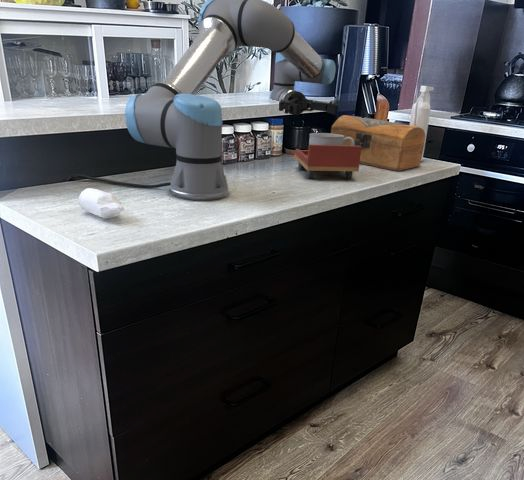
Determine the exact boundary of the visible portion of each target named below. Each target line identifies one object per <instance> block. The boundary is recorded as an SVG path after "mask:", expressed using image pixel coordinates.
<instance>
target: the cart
mask: <svg viewBox="0 0 524 480" xmlns="http://www.w3.org/2000/svg"><path fill="white" fill-rule="evenodd" d="M361 148H362V146H344V145H309V144H308V149H307V150H305V149H304V150H303V149H300V148H295V150H294V159H295V160H296V161H297V162H298V170H300V171H303V170H306V178H307V179H313V178H314V171H315V172H344V177H345V179H346V180H351V179H352V177H353V173H354V172H359V169H360V163H359V162H360V155H361Z"/></svg>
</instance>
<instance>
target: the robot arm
mask: <svg viewBox="0 0 524 480" xmlns="http://www.w3.org/2000/svg"><path fill="white" fill-rule="evenodd" d="M198 15H199V17H198V19H197V27H198V35H197V36H196V37H195V39H194V40H193V42H192V43H191V45H189V47H188V48H187V49H186V51H185V52H184V53H183V55H182V56H181V57H180V59H179V60H178V61H177V63H176V64H175V65H174V66H173V68H172V69H171V70H170V71H169V73H168V74H167V76H166V77H165V78H164V80H163V81H156V82H154V83H152V84H151V86H150V87H149V89H148V90H147V91H146V92H145V94H141V93H137V94H133V95H131V96H130V97H129V98H128V100H127V102H126V105H125V110H124V115H125V118H124V119H125V125H126V128H127V131H128V133H129V134H130V136H131V137H132V138H133V139H134V140H135V141H137V142H138V143H142V144H145V145H150V146H151V145H152V146H157V147H165V148H172V149H175V156H176V157H175V158H176V159H175V160H176V161H175V162H176V163H175V167H174V171H173V174H172V177H171V181H169V182H162V183H157V184H139V183H131V182H125V181H117V180H113V179H107V178H102V177H93V176H89V175H85V174H84V175H83V174H79V175H78V176H77V177H70V176H69V177H68V178H67V179H66V181H67V182H70V181H72V180H73V179H76V178H79V179H86V180H90V181H95V182H103V183H107V184H113V185H118V186H125V187H132V188H140V189H141V188H143V189H155V188H156V189H157V188H161V187H168V186H170V187H169V189H170V194H171V195H172V196H174V197H176V198H179V199H184V200H188V201H189V200H190V201H214V200H219V199H223V198H225V197H227V196H228V195H229V186H228V179H227V176H226V174H225V172H224V171H225V170H224V167H223V164H222V150H223V149H222V146H223V145H222V144H223V137H222V136H223V124H224V123H223V122H224V121H223V113H222V106H221V104H220V103H219V101H217V100H215V99H214V98H211V97H207V96H204V95H199V94H198V93H199V91H200V90H201V89H202V88H203V86H204V85H205V84H206V81H207V80H208V79H209V78H210V76H211V75H212V73H213V72H214V71H215V69H216V68H217V66H218V65H219V64H220V62H221V61H222V60H223V59H227V58H230V57H231V56H232V55H233V54H234V52H235V51H236V50H237V48H238V47H248V48H263V49H267V50H269V51H271V52H272V53H275V59H274V61H275V62H274V77H273V79H274V80H273V89H272V90H271V92H270V94H269V100H270V99H272V100H276V101H279V110H278V111H279V112H284V111H283V110H284V109H285V112H284V114H287V115H288V113H289V114H290V115H292V116H299V115H301V114H303V113H304V112H313V111H320V112H326V113H327V114H330V115H334V116H338V113H339V111H338V110H339V105H337V103H335V102H333V101H332V100H330V101H329V102H326V101H320V100H316V99H315V100H314V99H308V98H306V95H305V94H304V93H303V92H301V91H298V90H295V86H296V82H297V83H298V82H299V83H309V84H317V85H318V84H319V85H329V84H332V83H333V81H334V79H335V76H336V69H337V68H336V63H335V61H334V60H333V59H328V58H322V56H320V55H319V54H318V52H316V50H315V49H314V48H313V47H312V46H311V45H310V44H309V43H308V42H307V41H306V40H305V39H304V38H303V37H302V36H301V35H300V33H298V31H296V27H295V24H294V22H293V20H291V19H290V17H289V16H288V15H287V14H285V12H283V11H282V10H280V9H279V8H278V7H276V6H275V5H273V4H271V3H269V2H268V1H265V0H206V1H205V2H204V3H203V5H202V6H201V7H200V10H199V14H198Z"/></svg>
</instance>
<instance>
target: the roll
mask: <svg viewBox="0 0 524 480" xmlns="http://www.w3.org/2000/svg"><path fill="white" fill-rule="evenodd" d="M78 205H79V207H80V209H81V210H82V211H84V212H86V213H89V214H92V215H94V216H97V217H100V218H103V219H112V218H116V217H117V216H119V215H120V214H121V213H123V212H124V211H125V207H124V206H123V205H122V202H121V201H120V199H119V198H118V197H117V196H116V195H114V194H111V193H109V192H106V191H103V190H101V189H97V188H92V187H87V188H85V189H84V190H82V191H81V193H80V194H79V196H78Z"/></svg>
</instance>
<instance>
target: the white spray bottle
mask: <svg viewBox="0 0 524 480" xmlns="http://www.w3.org/2000/svg"><path fill="white" fill-rule="evenodd" d="M434 90H435V87H434V86H428V85H420V88H419V92H420V94H419V96H418V97H417V99H416V101H415V103H413V104H412V106H411V111H410V118H409V125H411V126H417V127H420V128H422V129H423V130H424V132H425V142H424V148H423V153H422V158H421V162H423V160H424V153H425V148H426V141H427V134H428V130H429V129H428V128H429V122H430V117H431V109H432V108H431V105H430V104H431V94H430V92H433V91H434Z"/></svg>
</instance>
